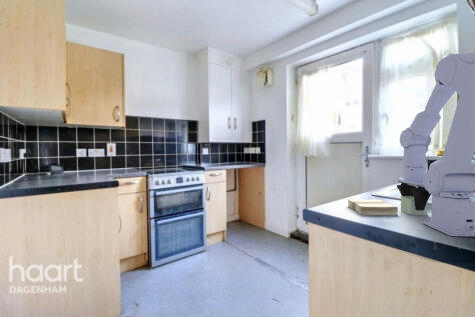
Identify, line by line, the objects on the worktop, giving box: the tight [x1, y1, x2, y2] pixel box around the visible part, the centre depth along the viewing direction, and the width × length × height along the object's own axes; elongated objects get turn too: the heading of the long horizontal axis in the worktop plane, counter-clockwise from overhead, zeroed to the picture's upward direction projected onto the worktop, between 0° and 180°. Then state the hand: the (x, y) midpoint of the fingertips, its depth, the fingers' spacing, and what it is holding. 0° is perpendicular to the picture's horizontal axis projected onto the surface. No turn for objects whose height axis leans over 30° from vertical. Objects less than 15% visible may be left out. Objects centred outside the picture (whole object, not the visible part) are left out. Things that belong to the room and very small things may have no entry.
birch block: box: [347, 198, 399, 216], centre depth 78 cm, size 11×11×3 cm
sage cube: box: [400, 196, 429, 216], centre depth 74 cm, size 5×5×5 cm
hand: (413, 207), depth 74 cm, fingers closed on sage cube, 5 cm apart
